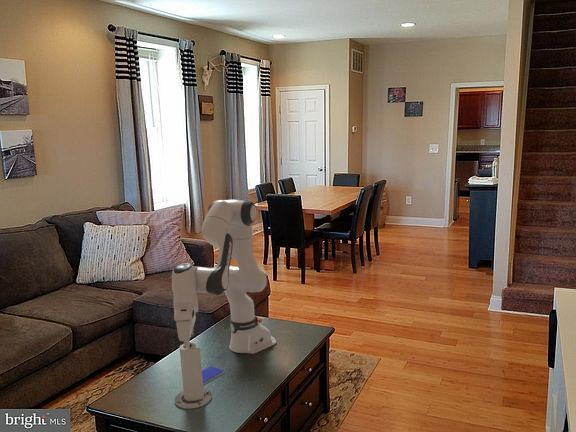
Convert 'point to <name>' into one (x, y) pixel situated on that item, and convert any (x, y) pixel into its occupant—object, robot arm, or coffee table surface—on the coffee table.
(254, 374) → the coffee table surface
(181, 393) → the duct flange
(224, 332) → the coffee table surface
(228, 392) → the coffee table surface
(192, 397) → the paper towel roll
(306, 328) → the coffee table surface
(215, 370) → the hard drive
